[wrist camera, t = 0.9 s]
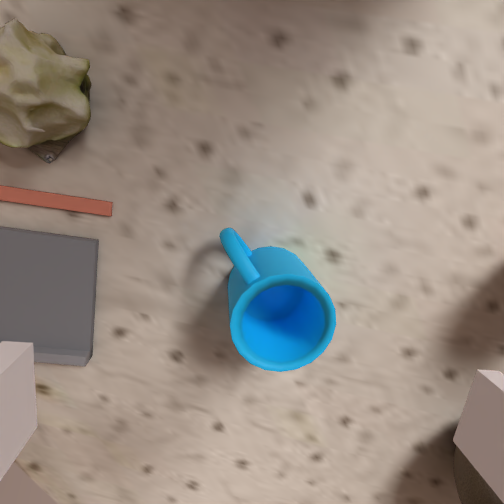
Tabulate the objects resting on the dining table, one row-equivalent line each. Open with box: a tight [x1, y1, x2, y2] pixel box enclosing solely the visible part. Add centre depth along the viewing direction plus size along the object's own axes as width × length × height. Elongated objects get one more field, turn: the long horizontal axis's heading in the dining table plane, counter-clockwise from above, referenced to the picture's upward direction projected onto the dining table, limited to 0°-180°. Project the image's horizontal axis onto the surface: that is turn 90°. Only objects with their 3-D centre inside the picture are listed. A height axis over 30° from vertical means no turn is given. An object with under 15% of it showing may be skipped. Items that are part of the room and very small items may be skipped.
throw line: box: [0, 185, 112, 216], centre depth 29 cm, size 1×12×1 cm, turn 81°
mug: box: [220, 228, 336, 372], centre depth 29 cm, size 12×8×8 cm
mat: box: [0, 226, 99, 366], centre depth 31 cm, size 12×10×2 cm
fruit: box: [0, 18, 91, 163], centre depth 24 cm, size 9×9×8 cm
